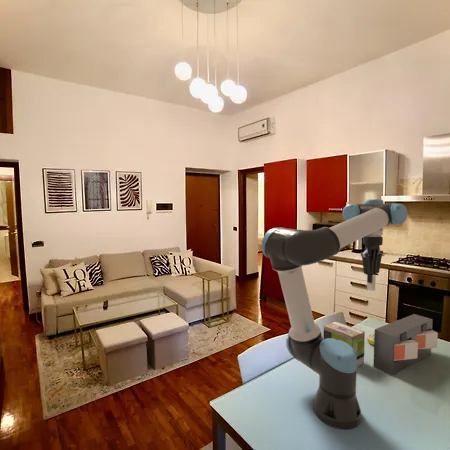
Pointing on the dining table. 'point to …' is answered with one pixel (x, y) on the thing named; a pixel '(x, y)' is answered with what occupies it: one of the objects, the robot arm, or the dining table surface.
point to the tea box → (347, 338)
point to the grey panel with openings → (394, 335)
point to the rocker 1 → (406, 350)
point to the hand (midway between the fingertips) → (371, 289)
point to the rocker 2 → (427, 339)
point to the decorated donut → (371, 339)
